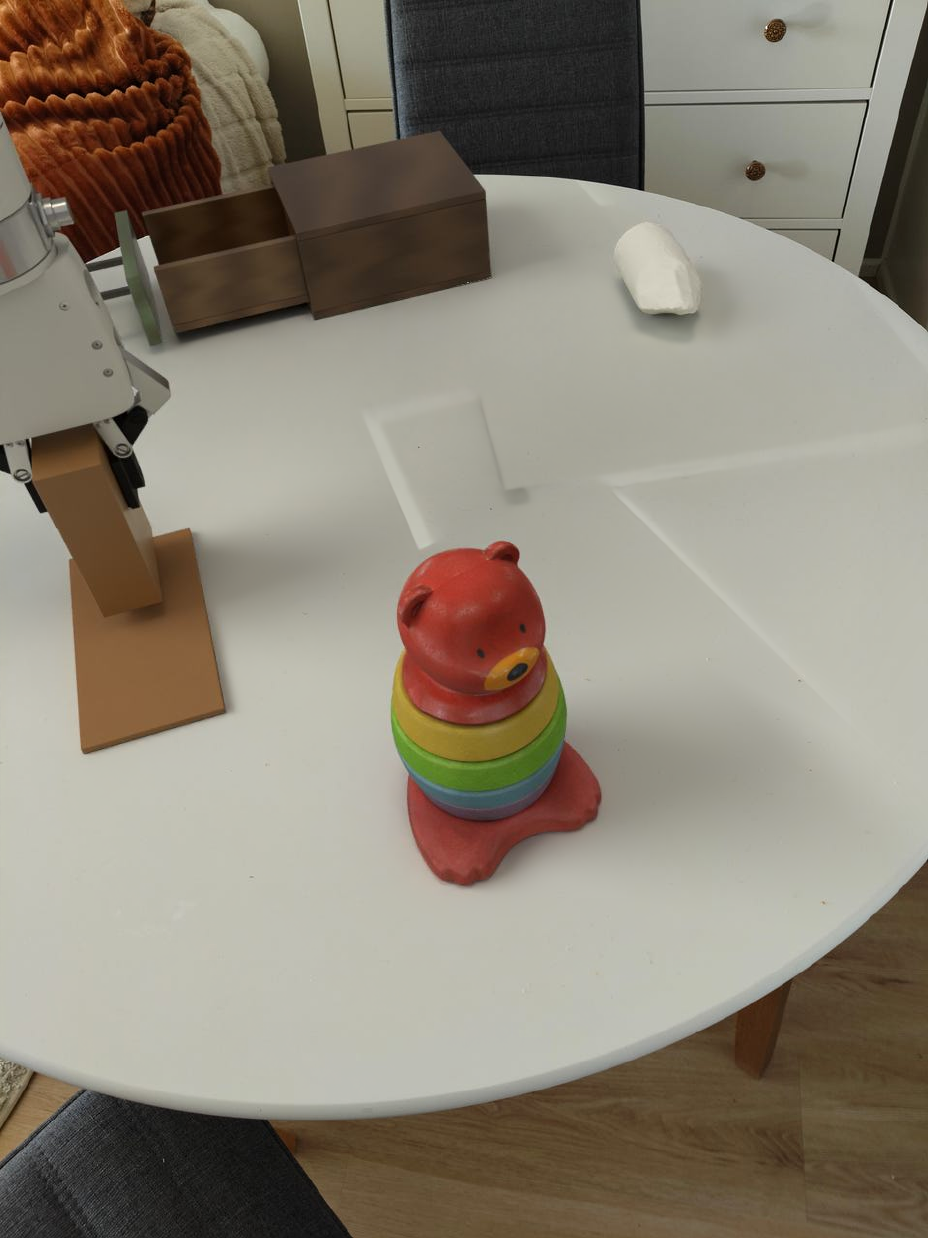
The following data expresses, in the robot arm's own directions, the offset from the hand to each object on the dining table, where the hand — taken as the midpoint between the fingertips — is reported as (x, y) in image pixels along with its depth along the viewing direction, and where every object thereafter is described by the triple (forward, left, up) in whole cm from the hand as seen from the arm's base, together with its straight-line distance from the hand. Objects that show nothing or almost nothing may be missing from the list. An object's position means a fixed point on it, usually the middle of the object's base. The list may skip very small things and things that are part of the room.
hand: (96, 502), depth 65 cm
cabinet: (-19, +42, -8) cm, 47 cm away
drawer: (-28, +26, -7) cm, 39 cm away
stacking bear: (+30, +5, -8) cm, 32 cm away
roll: (+7, +52, -8) cm, 53 cm away
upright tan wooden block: (0, 0, -6) cm, 6 cm away
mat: (+4, -2, -8) cm, 9 cm away
